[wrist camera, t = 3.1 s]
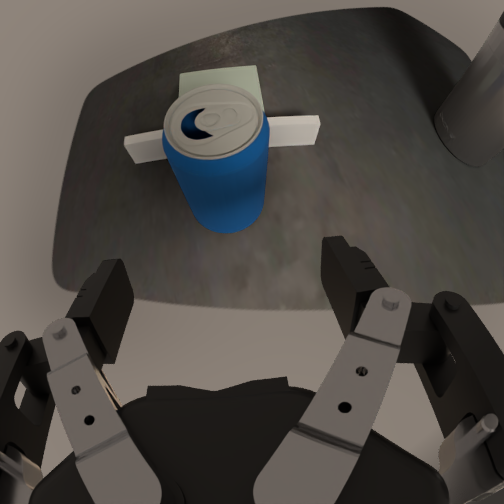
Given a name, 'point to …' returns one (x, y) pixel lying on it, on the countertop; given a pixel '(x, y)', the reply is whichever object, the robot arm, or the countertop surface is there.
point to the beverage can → (219, 154)
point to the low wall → (281, 134)
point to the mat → (223, 80)
